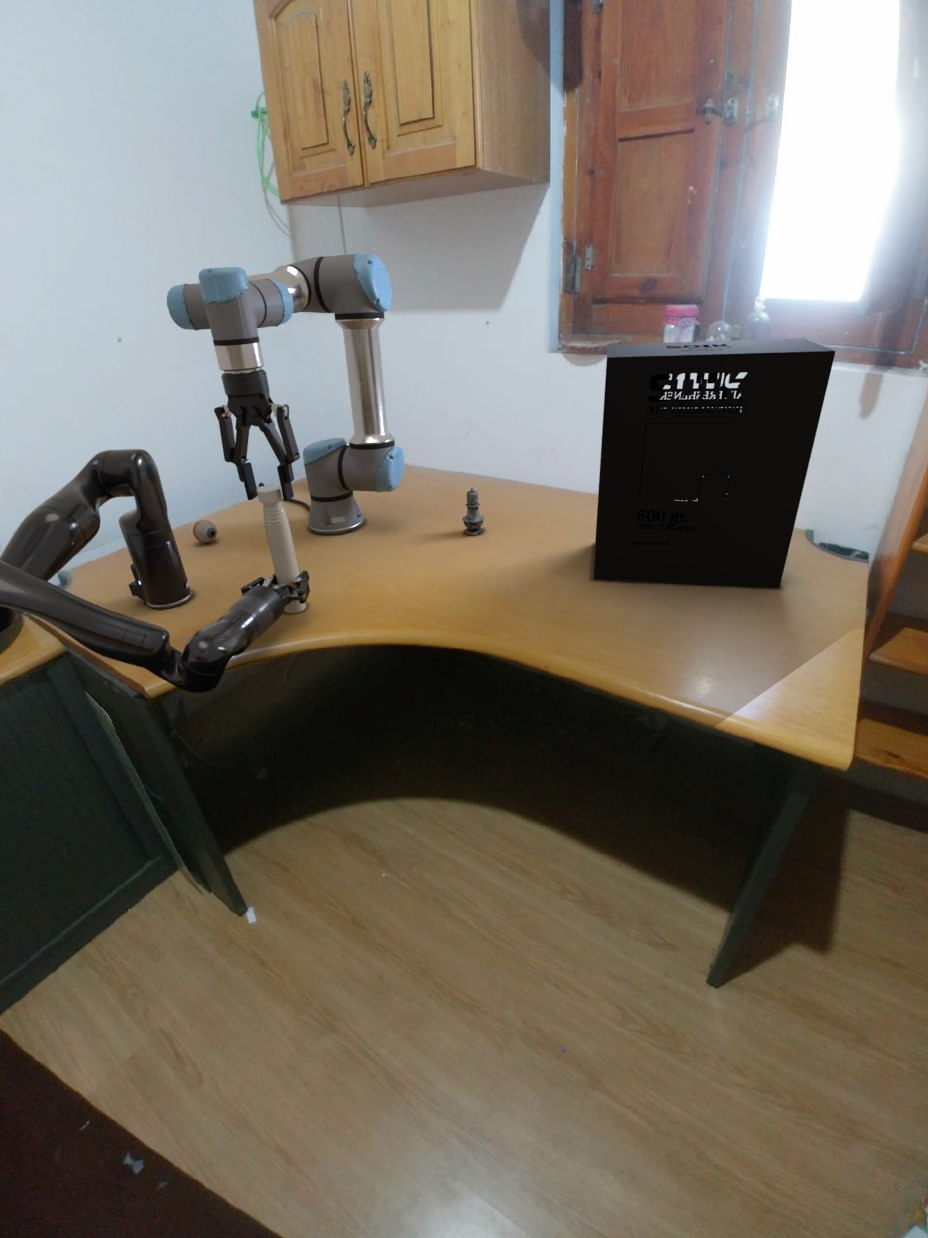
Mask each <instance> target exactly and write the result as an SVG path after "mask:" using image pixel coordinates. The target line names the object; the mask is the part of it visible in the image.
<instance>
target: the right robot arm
mask: <svg viewBox="0 0 928 1238" xmlns="http://www.w3.org/2000/svg"><path fill="white" fill-rule="evenodd" d="M198 281H199V283H183V284H176V285H173V286H172V287H171V288H169V289H168V292H167V294H166V307H167V309H168V313H169V316H170V318H171V320H172V322H173V323H174V324H176V326H178V327H179V328H180V329H183V330H189V331H190V330H193V331H202V330H210V332H211V336H212V343H213V347H214V353H215V356H216V357H215V358H216V361H217V365H218V369H219V370H220V371H222V372H223V373H222V374H221V376H220V377H221V381H222V385H223V386H222V387H223V390H224V394H225V396H226V398H227V403H226V404H222V405H218V406H216V407H214V409H213V412H214V414H215V416H216V419H217V422H218V427H219V433H220V439H221V440H220V441H221V446H222V452H223V460H224V461H225V462H226V463H231V464H234V465H235V467H236V471H237V475H238V479H239V481H240V483H243V485H244V489H245V490H244V491H245V493H246V498H247V501H253V500H255V499H256V498H258V494H257V489H258V487H262V486H266V485H265V484H264V483H263V482H259V483H258V487H257V483H256V477H255V474H254V471H253V470H254V469H253V465H252V462H249V458H247V457H248V449H249V436H250V429H251V427H252V426H253V427H257V428H258V429H259V430H260V432H261V433H263V435H264V437H265V439H266V441H267V442H268V444H269V446H270V447H271V450H272V451H273V453H274V455H275V457H276V458H277V461H278V463H279V464H278V466H276V470H277V475H278V480H279V484H280V486H281V489H282V494H283V499H282V500H283V501H284V502H292V503H297V504H300V505H302V506H304V507H305V508H306V509H307V510H308V511H309V513H308V528H309V529H308V530H310V531H311V532H312V533H314V534H317V535H323V536H324V535H325V536H327V535H329V536H331V535H339V534H340V535H341V534H345V533H350V532H353V531H355V530H357V529H359V528H361V527H362V526H363V525H364V523H365V519H364V514H363V512H362V510H361V508H360V505H359V504H358V501H357V500H356V498H355V495H354V492H375V493H391V492H393V491H395V490H397V488H398V487H399V485H400V484H401V482H402V479H403V476H404V472H405V454H404V451H403V448H402V447H400V446H398V445H396V443H395V437H394V436H393V435H392V434H391V433H390V431H389V429H388V418H387V406H386V395H385V394H386V393H385V383H384V382H385V381H384V371H383V360H382V359H383V358H382V348H381V338H380V328H381V325H382V324H383V323H384V322H385V312H387V311H389V310H390V309H391V307H392V300H393V290H392V289H393V288H392V284H391V280H390V275H389V273H388V270H387V268H386V267H385V265H384V263H383V261H382V260H381V259H380V258H379V257H378V256H377V255H375V254H372V253H359V252H357V253H351V254H339V255H327V256H326V255H325V256H314V257H310V258H307V259H303V260H299V261H296V262H293V263H292V262H291V263H289V264H282V265H280V266H277V267H276V268H275V269H274V270H273V272H272V271H271V272H266V273H259V274H252V275H247V273H246V270H245V269H244V268H242V267H240V266H230V267H229V266H226V267H210V268H209V267H208V268H202V269H201V270H200V271H199V272H198ZM297 313H316V314H333V315H334V322H335V323H336V324H337V325H338V326H339V327H340V328H341V330H342V336H343V337H342V338H343V345H344V354H345V355H344V356H345V363H346V373H347V381H348V391H349V400H350V408H351V420H352V428H353V435H352V436H351V437H350V438H349V439H348V443H349V445H348V444H347V441H346V439H345V438H342V437H334V438H328V439H323V440H318V441H315V442H313V443H309V444H308V445H306V446H305V447H304V448H303V450H302V457H303V458H302V460H303V467H304V471H305V477H306V481H307V486H308V492H309V498H310V505H309V504H308V503H306V502H304V501H302V500H298V499H295V498H294V497H295V495H294V490H293V485H292V482H293V481H294V480H295V475H294V470H293V463H295V462H297V461H298V460H299V459H300V458H301V454H300V451H299V448H298V447H299V446H298V443H297V440H296V437H295V433H294V430H293V427H292V423H291V420H290V406H289V405H288V404H287V403H284V404H278V403H274V401H273V399H272V398H271V396H270V385H269V380H268V376H267V371H265V369H263V367H264V366H265V361H264V357H263V351H262V346H261V342H260V341H261V340H260V336H259V331H258V329H263V328H271V327H274V328H275V327H276V328H277V327H279V326H281V325H284V324H286V323H287V322H288V321H290V319H291V318H292V316H293V314H297ZM272 413H273V416H274V417H275V418H276V423H277V426H278V430H279V432H278V430H277V428H276V424H275V422H274V420H273V418H272V416H271V415H272ZM232 415H233V417H235V427H234V425H233V424H234V423H233V418H232ZM234 428H235V429H234ZM234 430H236V431H234ZM234 432H236V433H234ZM279 433H280V434H279Z"/></svg>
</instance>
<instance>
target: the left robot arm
mask: <svg viewBox="0 0 928 1238" xmlns="http://www.w3.org/2000/svg"><path fill="white" fill-rule="evenodd" d="M116 498H134V502H135V508H133V509H131V510H129V511H127V512H125V513H123V514H122V515H120V516H119V518H118V525H119V529H120V532H121V533H122V537H123V539H124V542H125V545H126V547H127V550H128V554H129V556H130V558H131V561H132V563H131V564H130V567H129V568H130V571H131V574H132V575H133V579H134V580H133V581H131V582H130V583H129V584H128V588H129V590H130V594H131V596H132V597H138V598H139V599H140V600H142V604H143V605H145V606H147V607H148V608H150V609H153V610H165V609H171V608H175V607H178V606H181V605H182V604H185V603H186V602H188V601H190V599H191V598H192V597H193V591H192V589H191V586H190V583H191V580H190V578H188V577H187V574H186V570H185V567H184V564H183V561H182V557H181V554H180V551H179V548H178V545H177V541H176V538H175V535H174V532H173V528H172V525H171V522H170V518H169V515H168V505H167V499H166V496H165V492H164V488H163V484H162V481H161V476H160V473H159V469H158V466H157V463H156V461H155V459H154V457H153V456H152V455H151V454H150V453H149V452H148V451H147V450H145V449H142V448H121V449H106V450H102V451H99V452H98V453H96V454H95V455H93V456H92V457H91V459H89V460H88V462H87V463H86V464H85V465H84V466H83V468H81V469H80V471H79V472H78V473H77V474H76V475H75V476H74V477H72V479H71V480H70V481H69V482H67V483H66V484H65V485H64V486H62V487H61V488H60V489H59V490H58V491H56V492H55V493H53V495H52V496H50V497H49V498H47V499H46V500H44V501H43V502H42V503H41V504H39V505H38V506H37V507H35V508H34V509H33V510H32V511H31V512H30V513H28V514H27V515H26V516H25V517H24V518H23V520H22V521H21V522H20V523H19V525H18V526H17V528H16V530H15V531H14V533H13V534H12V535H11V538H10V540H9V541H8V542H7V544H6V546H5V548H4V549H3V551H2V553H1V555H0V634H1V633H4V631H6V630H8V629H9V628H10V627H11V626H13V624H14V623H15V622H16V621H17V620H18V618H19V616H20V615H21V614H22V613H27V614H29V615H32V616H34V617H37V618H39V619H41V620H44V621H45V622H47V623H49V624H51V625H52V626H54V627H56V628H57V629H59V630H60V631H61V632H63V633H65V634H66V635H68V636H69V637H70V638H72V639H73V640H75V641H76V642H77V643H78V644H80V645H82V646H83V647H84V648H86V649H88V650H90V651H91V652H93V653H95V654H97V655H99V656H102V657H105V658H108V659H111V660H114V661H117V662H121V663H124V664H128V665H131V666H135V667H138V668H142V669H145V670H146V671H148V672H149V673H151V674H153V675H155V676H156V677H158V678H159V679H161V680H163V681H165V682H166V683H169V684H170V685H172V686H174V687H175V688H177V689H180V690H182V691H184V692H188V693H196V694H202V693H203V694H204V693H208V692H210V691H212V690H214V689H215V688H216V687H217V686H218V685H219V683H220V682H221V680H222V677H223V675H224V672H225V670H226V668H227V666H228V664H229V663H230V661H231V660H232V658H233V657H237V656H240V655H242V654H243V653H244V652H245V651H246V650H248V649H249V648H250V647H251V645H252V644H253V643H254V642H255V641H256V640H258V638H260V637H261V636H263V634H265V633H266V631H268V629H270V628H271V626H272V625H273V624H274V623H275V622H276V621H277V620H278V619H279V618H280V617H281V616H282V614H283V612H284V607H285V606H286V605H287V604H290V603H291V602H292V601H296V600H298V601H299V602H300V604H304V603H306V602H307V601H308V598H309V596H310V593H311V589H310V585H309V581H310V579H311V578H310V574H309V572H308V571H307V570H302V571H301V572H299V573H300V574H299V575H298V576H297V577H296V579H294V580H292V581H289V580H288V581H286V582H284V583H282V584H280V585H278V583H277V578H276V574H275V572H274V573H273V574H272V575H270V576H267V577H266V578H265V577H263V576H259V577H258V578H257V577H256V579H253V581H251V582H249V583H247V584H245V585H244V586H242V587H240V592H241V597H240V598H238V600H236V601H235V602H234V603H233V604H232V605H231V606H230V607H229V609H228V610H227V611H226V612H225V613H224V614H223V615H222V616H221V617H220V618H218V619H217V621H215V622H214V623H211V624H208V625H207V626H205V627H203V628H201V629H199V630H198V631H197V632H195V633H194V634H193V635H192V636H191V637H190V638H189V639H188V641H187V642H186V644H185V646H184V648H183V651H182V652H181V651H180V650H178V649H177V648H175V647H173V646H172V645H171V636H170V632H169V631H168V629H166V628H164V627H162V626H160V625H157V624H154V623H150V622H148V621H144V620H141V619H139V618H136V617H132V616H129V615H126V614H123V613H119V612H116V611H114V610H111V609H108V608H106V607H104V606H101V605H98V604H95V603H94V602H92V601H89V600H87V599H84V598H83V597H80V596H78V595H76V594H75V593H73V592H70V591H67V590H66V589H64V588H61V587H60V586H57V585H55V584H54V583H51V582H49V581H50V580H51V579H52V578H53V577H55V575H57V574H58V573H59V572H60V571H61V570H62V569H63V568H65V566H66V565H68V563H69V562H70V561H72V559H73V558H75V557H76V556H77V555H78V554H79V553H81V552H82V550H83V549H84V548H85V547H86V546H87V545H88V544H90V543H91V542H92V541H93V540H94V538H95V537H96V536H97V534H98V533H99V530H100V528H101V514H100V513H101V512H100V510H99V509H100V508H101V507H102V506H103V505H104V504H106V503H107V502H108V501H110V500H112V499H116ZM295 584H296V586H297V588H295ZM306 604H307V603H306Z"/></svg>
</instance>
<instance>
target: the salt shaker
mask: <svg viewBox="0 0 928 1238" xmlns="http://www.w3.org/2000/svg"><path fill="white" fill-rule="evenodd" d="M465 507H466V511H467V512H466V515H465V516H463V517H462V518H461V520H462V522H463V524H464V527H465V529H464V530H463V533H464V534H465V535H468V536H477V535H481V534H483V533H484V531H485V530H484V528H482V526H483V524H484V520H485V516H484V515H481V513H480V503H479V494H478V492H477V490H474V488H473V487H470V490H469V491H467V492H466V503H465Z"/></svg>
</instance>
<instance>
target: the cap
mask: <svg viewBox="0 0 928 1238" xmlns="http://www.w3.org/2000/svg"><path fill="white" fill-rule="evenodd" d="M257 494H258V496H257V498H258V502H259V503H260V504H263V503H264V504H269V503H275V502H279V501H281V502H282V500H284V499H283V494H282V489H281V484H280V485H279V484H267V485H265V486H259V487H257Z"/></svg>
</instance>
